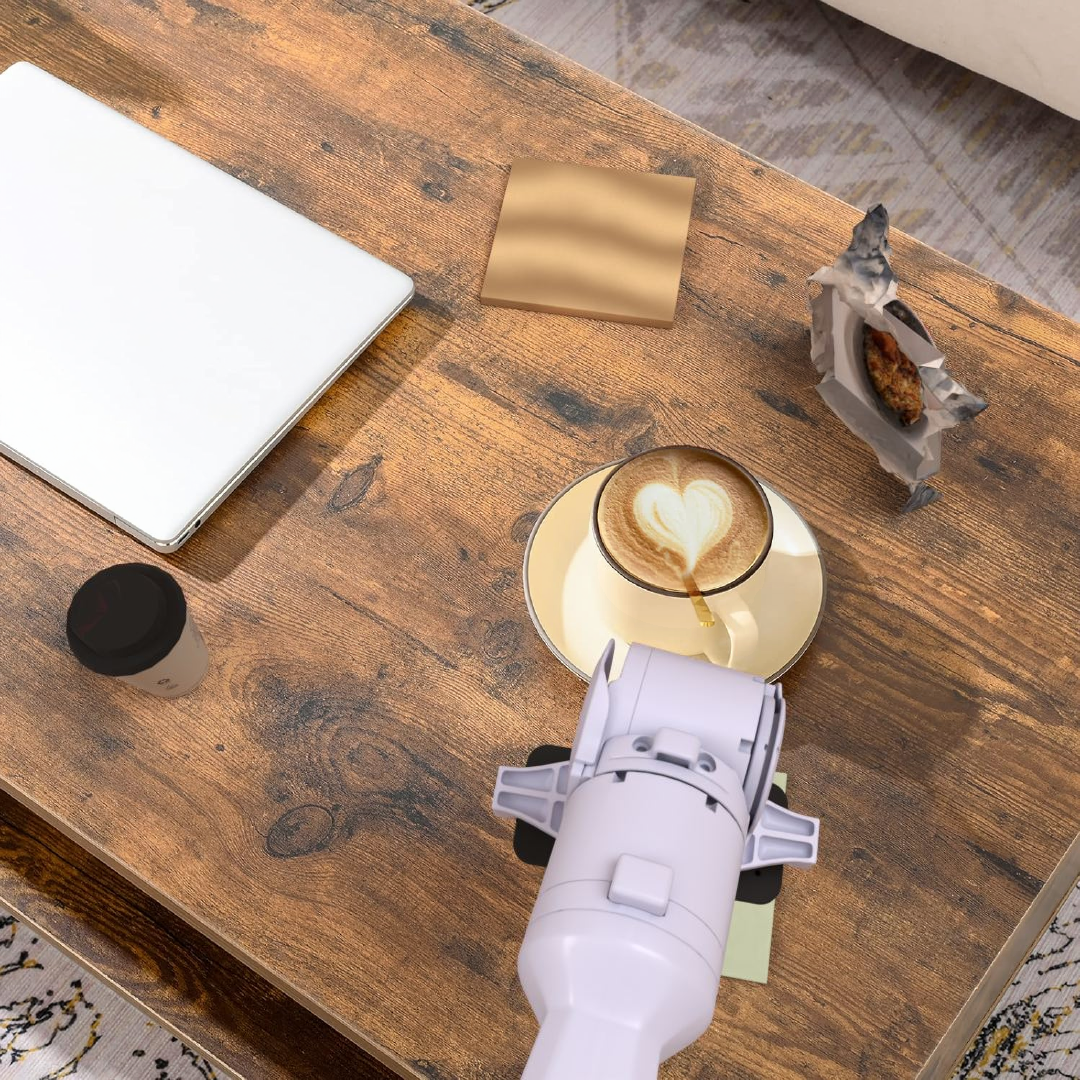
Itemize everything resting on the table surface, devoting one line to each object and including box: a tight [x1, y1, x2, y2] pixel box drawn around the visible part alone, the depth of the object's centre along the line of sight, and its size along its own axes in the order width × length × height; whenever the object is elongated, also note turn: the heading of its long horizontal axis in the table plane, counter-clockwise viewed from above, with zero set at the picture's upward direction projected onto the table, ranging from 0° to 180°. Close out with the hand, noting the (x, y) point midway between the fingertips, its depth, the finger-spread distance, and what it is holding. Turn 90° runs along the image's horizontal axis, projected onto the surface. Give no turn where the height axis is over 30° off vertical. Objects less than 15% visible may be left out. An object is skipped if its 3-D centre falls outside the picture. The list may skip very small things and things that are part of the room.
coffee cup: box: [65, 561, 211, 699], centre depth 69 cm, size 7×7×10 cm
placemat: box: [721, 771, 788, 985], centre depth 68 cm, size 12×10×1 cm
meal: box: [801, 202, 993, 516], centre depth 73 cm, size 15×4×13 cm, turn 24°
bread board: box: [479, 156, 697, 330], centre depth 86 cm, size 13×14×1 cm
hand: (644, 845), depth 60 cm, fingers closed on toy figure, 7 cm apart
